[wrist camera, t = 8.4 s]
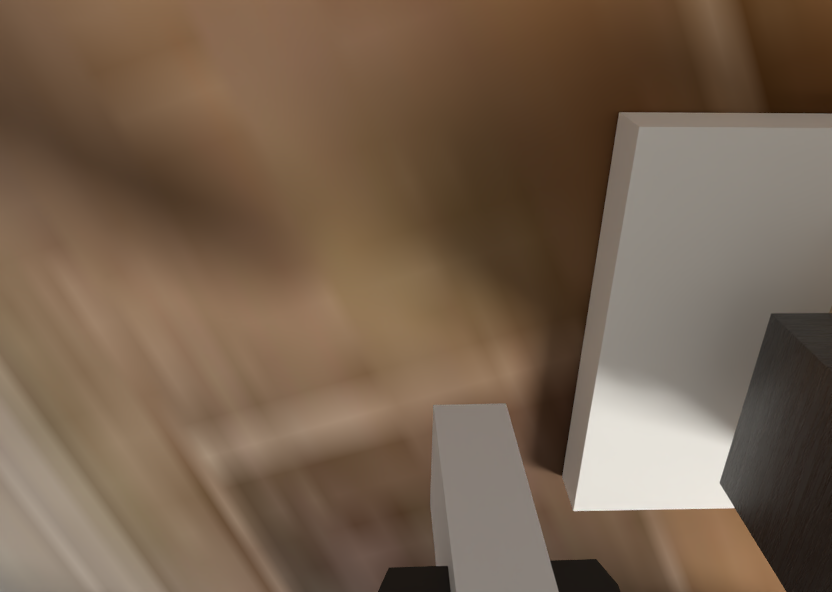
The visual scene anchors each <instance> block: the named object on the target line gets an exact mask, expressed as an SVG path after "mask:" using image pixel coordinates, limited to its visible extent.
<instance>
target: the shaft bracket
mask: <svg viewBox="0 0 832 592" xmlns="http://www.w3.org/2000/svg"><path fill="white" fill-rule="evenodd" d="M771 313H832V114H824V113H667V112H619V116H618V123H617V129H616V135H615V142H614V148H613V155H612V161H611V167H610V174H609V180H608V187H607V193H606V199H605V206H604V212H603V219H602V225H601V231H600V238H599V244H598V251H597V257H596V264H595V270H594V276H593V283H592V289H591V296H590V302H589V308H588V315H587V321H586V328H585V334H584V340H583V347H582V353H581V360H580V366H579V372H578V379H577V385H576V392H575V398H574V404H573V411H572V417H571V424H570V430H569V436H568V443H567V449H566V456H565V462H564V468H563V475H562V478H563V481H564V484H565V487H566V490H567V493H568V496H569V499H570V503H571V506H572V509H573V511H602V510H657V509H711V508H735V507H734V506H733V504H732V503H731V501H730V499H729V498H728V496H727V494H726V493H725V491H724V490H723V488H722V486H721V485H720V479H721V476H722V473H723V470H724V466H725V463H726V460H727V457H728V453H729V450H730V447H731V443H732V440H733V437H734V434H735V430H736V427H737V424H738V420H739V417H740V414H741V411H742V407H743V404H744V401H745V398H746V394H747V391H748V388H749V384H750V381H751V378H752V375H753V371H754V368H755V365H756V361H757V358H758V355H759V352H760V348H761V345H762V342H763V339H764V335H765V332H766V329H767V325H768V322H769V319H770V316H771Z"/></svg>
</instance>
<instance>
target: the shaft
mask: <svg viewBox="0 0 832 592" xmlns="http://www.w3.org/2000/svg"><path fill="white" fill-rule="evenodd" d="M720 485H721V486H722V488H723V490H724V491H725V493H726V494H727V496H728V498H729V499H730V501H731V503H732V504H733V506H734V507H735V509H736V511H737V512H738V514H739V515H740V517H741V519H742V520H743V522H744V524H745V525H746V527H747V528H748V530H749V532H750V533H751V535H752V537H753V538H754V540H755V541H756V543H757V545H758V546H759V548H760V549H761V551H762V553H763V554H764V556H765V558H766V559H767V561H768V562H769V564H770V566H771V567H772V569H773V571H774V572H775V574H776V575H777V577H778V579H779V580H780V582H781V584H782V585H783V587H784V588H785V590H786V592H832V313H771V316H770V319H769V322H768V325H767V329H766V332H765V335H764V339H763V342H762V345H761V348H760V352H759V355H758V358H757V361H756V365H755V368H754V371H753V375H752V378H751V381H750V384H749V388H748V391H747V394H746V398H745V401H744V404H743V407H742V411H741V414H740V417H739V420H738V424H737V427H736V430H735V434H734V437H733V440H732V443H731V447H730V450H729V453H728V457H727V460H726V463H725V466H724V470H723V473H722V476H721V479H720Z"/></svg>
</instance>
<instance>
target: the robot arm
mask: <svg viewBox="0 0 832 592" xmlns="http://www.w3.org/2000/svg"><path fill="white" fill-rule="evenodd" d="M430 506H431V517H432V527H433V538H434V548H435V559H436V566H428V567H398V568H389V569H388V571H387V573H386V575H385V578H384V580H383V582H382V584H381V586H380V589H379V591H378V592H620V589H619V587H618V584H617V583H616V582H615V581H614V580H613V579H612V577H611V576H610V575H609V574H608V573H607V571H606V570H605V569H604V568H603V567H602V566H601V564H600V563H599V562H598V561H597V560H596V559H588V560H558V561H550V559H549V555H548V552H547V548H546V545H545V541H544V537H543V534H542V530H541V527H540V523H539V520H538V516H537V512H536V509H535V505H534V502H533V498H532V495H531V491H530V488H529V484H528V480H527V477H526V473H525V470H524V466H523V463H522V459H521V455H520V452H519V448H518V445H517V441H516V438H515V434H514V430H513V427H512V423H511V420H510V416H509V413H508V409H507V406H506V404H462V405H433V434H432V464H431V495H430Z"/></svg>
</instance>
